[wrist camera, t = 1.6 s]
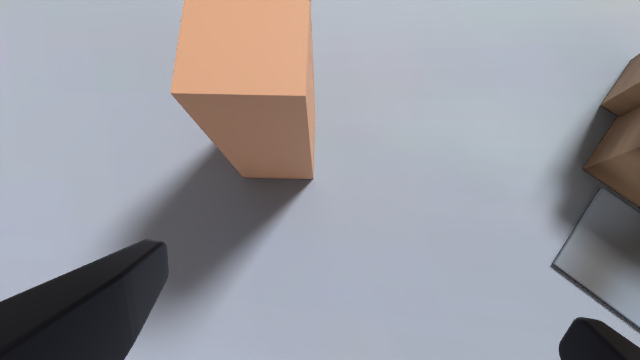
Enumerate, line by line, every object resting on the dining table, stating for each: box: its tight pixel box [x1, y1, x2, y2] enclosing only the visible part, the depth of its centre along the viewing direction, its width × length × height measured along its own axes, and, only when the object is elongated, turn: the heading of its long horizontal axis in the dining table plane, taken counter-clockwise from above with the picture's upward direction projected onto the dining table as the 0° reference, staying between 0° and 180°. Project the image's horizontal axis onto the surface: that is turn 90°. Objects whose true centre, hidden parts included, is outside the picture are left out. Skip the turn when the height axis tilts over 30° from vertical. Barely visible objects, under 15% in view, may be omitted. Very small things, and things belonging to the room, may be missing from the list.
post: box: [171, 0, 315, 179], centre depth 17 cm, size 4×4×11 cm
